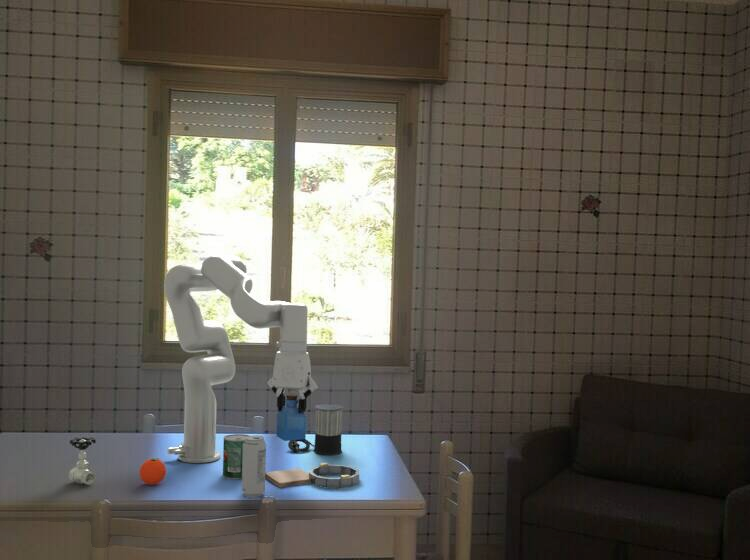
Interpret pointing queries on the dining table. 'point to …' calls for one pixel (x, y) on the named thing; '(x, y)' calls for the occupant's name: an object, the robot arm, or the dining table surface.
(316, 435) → the milk frother
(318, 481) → the collar
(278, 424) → the perfume bottle
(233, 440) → the canned tomato
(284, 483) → the pad
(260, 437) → the energy drink can
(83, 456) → the valve
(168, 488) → the dining table surface
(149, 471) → the clementine
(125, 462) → the dining table surface
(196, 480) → the dining table surface
